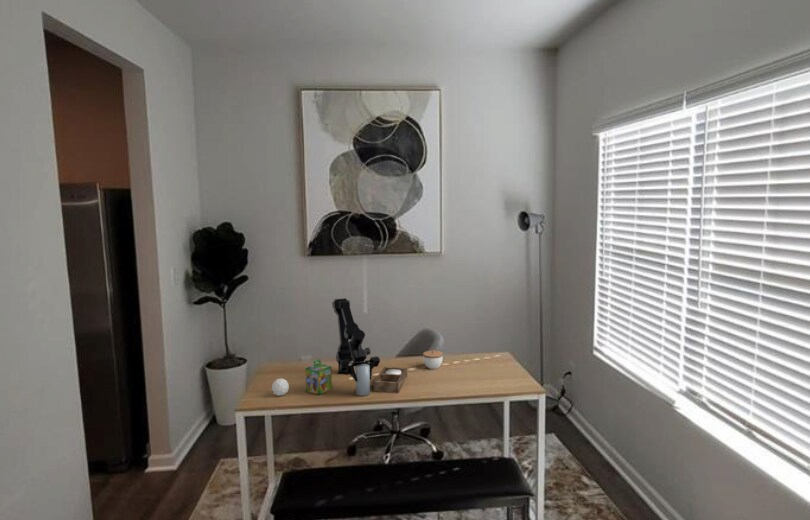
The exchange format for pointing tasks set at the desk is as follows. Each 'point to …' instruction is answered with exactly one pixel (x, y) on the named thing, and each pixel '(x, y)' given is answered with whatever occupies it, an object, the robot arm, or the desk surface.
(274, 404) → the desk surface
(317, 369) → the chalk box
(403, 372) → the brown wooden tray
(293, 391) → the desk surface
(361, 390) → the pale blue cylinder
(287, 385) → the geometric ball
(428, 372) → the desk surface
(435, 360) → the lidded jar
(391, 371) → the bowl
